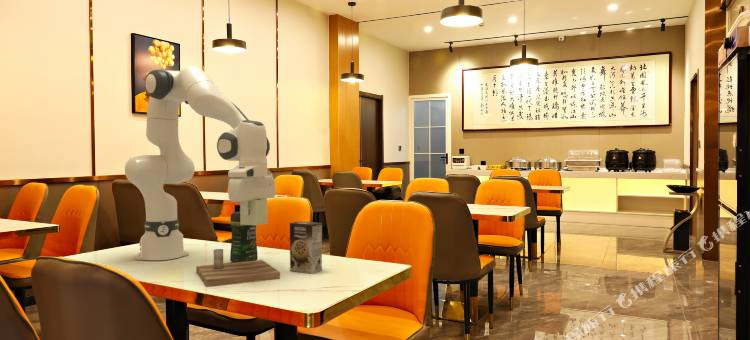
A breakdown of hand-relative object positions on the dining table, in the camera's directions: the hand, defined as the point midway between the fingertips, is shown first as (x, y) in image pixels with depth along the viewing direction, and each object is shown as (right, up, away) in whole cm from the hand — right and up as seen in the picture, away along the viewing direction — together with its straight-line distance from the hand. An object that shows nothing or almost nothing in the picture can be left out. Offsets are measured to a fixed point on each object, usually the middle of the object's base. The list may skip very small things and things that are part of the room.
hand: (253, 214), depth 167 cm
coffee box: (+16, -20, +7) cm, 26 cm away
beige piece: (0, -3, 0) cm, 3 cm away
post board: (-6, -20, +1) cm, 21 cm away
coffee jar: (-9, -19, +23) cm, 31 cm away
